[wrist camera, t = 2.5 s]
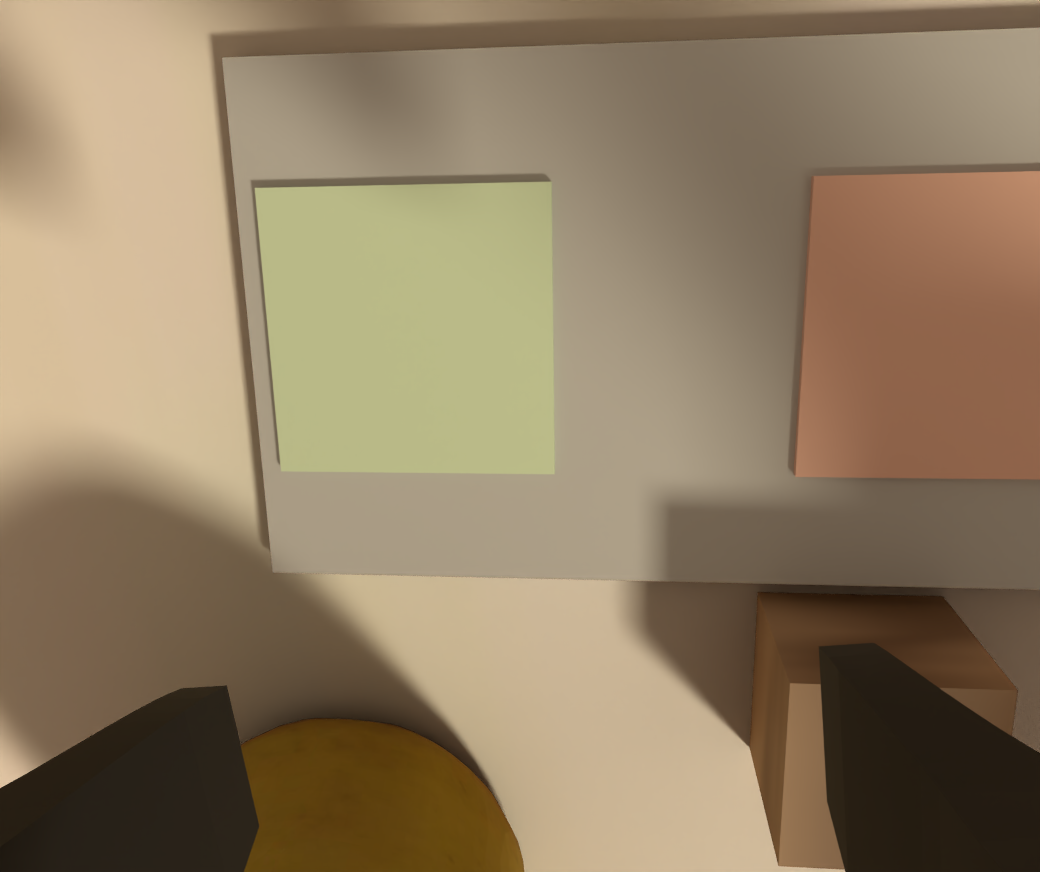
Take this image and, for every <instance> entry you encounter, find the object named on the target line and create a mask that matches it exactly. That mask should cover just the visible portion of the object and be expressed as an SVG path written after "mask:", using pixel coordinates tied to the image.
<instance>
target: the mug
mask: <svg viewBox="0 0 1040 872" xmlns="http://www.w3.org/2000/svg"><path fill="white" fill-rule="evenodd" d="M241 750H242V754H243V758H244V762H245V767H246V771H247V775H248V780H249V784H250V788H251V792H252V797H253V801H254V805H255V810H256V814H257V818H258V822H259V829H258V832H257V835H256V838H255V841H254V843H253V846H252V849H251V852H250V855H249V858H248V861H247V864H246V867H245V870H244V872H524V865H523V859H522V855H521V851H520V847H519V844H518V841H517V839H516V837H515V835H514V833H513V830H512V828H511V826H510V824H509V823H508V821H507V819H506V817H505V815H504V814H503V812H502V810H501V808H500V806H499V805H498V803H497V801H496V799H495V798H494V796H493V794H492V793H491V791H490V790H489V789H488V788H487V787H486V786H485V785H484V784H483V782H482V781H481V780H480V779H479V778H478V777H477V776H476V775H475V774H474V773H473V772H472V771H471V770H470V769H469V768H468V767H467V766H465V765H464V764H463V763H462V762H461V761H460V760H458V759H457V758H456V757H455V756H454V755H452V754H451V753H450V752H448V751H447V750H445V749H444V748H442V747H441V746H439V745H438V744H436V743H434V742H432V741H430V740H428V739H426V738H425V737H423V736H421V735H419V734H417V733H415V732H413V731H410V730H407V729H405V728H402V727H399V726H396V725H393V724H386V723H378V722H371V721H362V720H352V719H330V718H314V719H303V720H300V721H296V722H293V723H289V724H285V725H281V726H278V727H276V728H274V729H272V730H270V731H268V732H266V733H263V734H261V735H259V736H257V737H255V738H253V739H250V740H248V741H246V742H245V743H243V744H242V745H241Z"/></svg>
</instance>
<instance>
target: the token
mask: <svg viewBox="0 0 1040 872" xmlns="http://www.w3.org/2000/svg"><path fill="white" fill-rule="evenodd" d="M862 643H875V644H877V645H878V646H880V647H882V648H883V649H885V650H886V651H888V652H889V653H890V654H892V655H893V656H895V657H896V658H898V659H899V660H900V661H902V662H903V663H905V664H906V665H907V666H909V667H910V668H912V669H913V670H915V671H916V672H917V673H919V674H920V675H922V676H923V677H924V678H926V679H927V680H929V681H930V682H931V683H933V684H934V685H936V686H937V687H939V688H940V689H941V690H943V691H944V692H946V693H947V694H949V695H950V696H952V697H953V698H954V699H956V700H957V701H959V702H960V703H962V704H963V705H965V706H966V707H968V708H969V709H971V710H972V711H974V712H975V713H977V714H978V715H980V716H981V717H983V718H984V719H986V720H987V721H989V722H990V723H992V724H993V725H995V726H997V727H998V728H1000V729H1001V730H1003V731H1004V732H1006V733H1008V734H1009V735H1011V736H1012V730H1013V722H1014V715H1015V708H1016V700H1017V693H1018V690H1017V689H1016V687H1015V686H1014V685H1013V684H1012V682H1011V681H1010V680H1009V679H1008V677H1007V676H1006V675H1005V674H1004V672H1003V671H1002V670H1001V669H1000V667H999V666H998V665H997V664H996V662H995V661H994V660H993V659H992V657H991V656H990V655H989V654H988V652H987V651H986V650H985V649H984V647H983V646H982V645H981V644H980V642H979V641H978V640H977V639H976V637H975V636H974V635H973V634H972V632H971V631H970V630H969V629H968V627H967V626H966V625H965V624H964V622H963V621H962V620H961V619H960V617H959V616H958V615H957V614H956V612H955V611H954V610H953V609H952V607H951V606H950V605H949V604H948V602H947V601H946V600H945V599H944V597H943V596H905V595H861V594H817V593H773V592H758V596H757V615H756V635H755V654H754V674H753V693H752V713H751V732H750V751H751V755H752V759H753V763H754V767H755V771H756V776H757V780H758V784H759V788H760V792H761V796H762V800H763V804H764V808H765V813H766V817H767V821H768V825H769V829H770V833H771V837H772V841H773V845H774V850H775V854H776V858H777V862H778V866H787V867H807V868H827V869H845V868H844V864H843V861H842V857H841V853H840V850H839V846H838V842H837V838H836V834H835V830H834V827H833V823H832V819H831V815H830V811H829V807H828V803H827V793H826V775H825V756H824V737H823V719H822V700H821V682H820V663H819V646H832V645H847V644H862Z"/></svg>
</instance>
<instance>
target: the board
mask: <svg viewBox="0 0 1040 872" xmlns="http://www.w3.org/2000/svg"><path fill="white" fill-rule="evenodd" d="M222 64H223V74H224V84H225V94H226V104H227V115H228V125H229V135H230V145H231V155H232V165H233V175H234V186H235V196H236V206H237V216H238V226H239V236H240V247H241V257H242V267H243V277H244V287H245V297H246V307H247V318H248V328H249V338H250V348H251V358H252V368H253V379H254V389H255V399H256V409H257V419H258V429H259V439H260V450H261V460H262V470H263V480H264V490H265V500H266V511H267V521H268V531H269V541H270V551H271V561H272V571H273V573H307V574H352V575H397V576H442V577H486V578H531V579H576V580H621V581H665V582H710V583H755V584H800V585H844V586H889V587H934V588H979V589H1024V590H1040V28H1014V29H986V30H959V31H932V32H904V33H877V34H849V35H822V36H795V37H767V38H740V39H712V40H685V41H658V42H630V43H603V44H575V45H548V46H521V47H493V48H466V49H438V50H411V51H384V52H356V53H329V54H301V55H274V56H247V57H222Z"/></svg>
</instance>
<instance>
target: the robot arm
mask: <svg viewBox="0 0 1040 872" xmlns="http://www.w3.org/2000/svg"><path fill="white" fill-rule="evenodd" d="M819 663H820V682H821V700H822V719H823V737H824V756H825V775H826V793H827V803H828V807H829V811H830V815H831V819H832V823H833V827H834V830H835V834H836V838H837V842H838V846H839V850H840V853H841V857H842V861H843V864H844V868H845V872H1040V753H1039V752H1037V751H1035V750H1034V749H1032V748H1030V747H1028V746H1027V745H1025V744H1024V743H1022V742H1020V741H1019V740H1017V739H1016V738H1014V737H1012V736H1011V735H1009V734H1008V733H1006V732H1004V731H1003V730H1001V729H1000V728H998V727H997V726H995V725H993V724H992V723H990V722H989V721H987V720H986V719H984V718H983V717H981V716H980V715H978V714H977V713H975V712H974V711H972V710H971V709H969V708H968V707H966V706H965V705H963V704H962V703H960V702H959V701H957V700H956V699H954V698H953V697H952V696H950V695H949V694H947V693H946V692H944V691H943V690H941V689H940V688H939V687H937V686H936V685H934V684H933V683H931V682H930V681H929V680H927V679H926V678H924V677H923V676H922V675H920V674H919V673H917V672H916V671H915V670H913V669H912V668H910V667H909V666H907V665H906V664H905V663H903V662H902V661H900V660H899V659H898V658H896V657H895V656H893V655H892V654H890V653H889V652H888V651H886V650H885V649H883V648H882V647H880V646H878V645H877V644H875V643H862V644H847V645H832V646H819ZM258 829H259V822H258V818H257V814H256V810H255V805H254V801H253V797H252V792H251V788H250V784H249V780H248V775H247V771H246V767H245V762H244V758H243V754H242V750H241V745H240V741H239V737H238V732H237V728H236V724H235V720H234V715H233V711H232V707H231V702H230V698H229V694H228V690H227V686H213V687H198V688H183V689H179V690H177V691H174V692H172V693H170V694H167V695H165V696H163V697H161V698H159V699H157V700H155V701H153V702H151V703H149V704H147V705H145V706H143V707H141V708H140V709H138V710H136V711H134V712H132V713H130V714H129V715H127V716H125V717H123V718H122V719H120V720H118V721H116V722H115V723H113V724H111V725H109V726H108V727H106V728H104V729H102V730H101V731H99V732H97V733H96V734H94V735H92V736H90V737H89V738H87V739H85V740H84V741H82V742H80V743H78V744H77V745H75V746H73V747H72V748H70V749H68V750H66V751H65V752H63V753H61V754H60V755H58V756H56V757H54V758H53V759H51V760H49V761H48V762H46V763H44V764H42V765H41V766H39V767H37V768H36V769H34V770H32V771H30V772H29V773H27V774H25V775H23V776H22V777H20V778H18V779H16V780H14V781H13V782H11V783H9V784H7V785H5V786H3V787H2V788H0V872H244V870H245V867H246V864H247V861H248V858H249V855H250V852H251V849H252V846H253V843H254V841H255V838H256V835H257V832H258Z"/></svg>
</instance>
